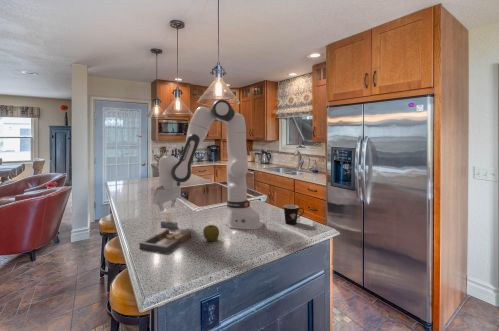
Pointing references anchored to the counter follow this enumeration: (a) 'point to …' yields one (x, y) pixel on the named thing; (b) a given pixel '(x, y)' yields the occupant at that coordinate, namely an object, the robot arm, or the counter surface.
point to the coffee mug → (291, 214)
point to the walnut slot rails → (182, 239)
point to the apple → (211, 232)
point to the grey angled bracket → (155, 247)
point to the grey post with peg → (169, 221)
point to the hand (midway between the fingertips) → (167, 208)
